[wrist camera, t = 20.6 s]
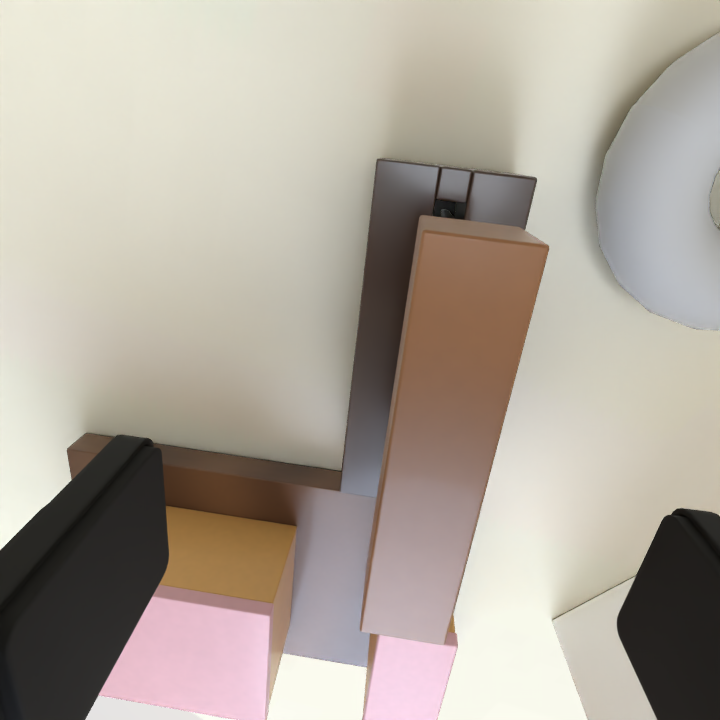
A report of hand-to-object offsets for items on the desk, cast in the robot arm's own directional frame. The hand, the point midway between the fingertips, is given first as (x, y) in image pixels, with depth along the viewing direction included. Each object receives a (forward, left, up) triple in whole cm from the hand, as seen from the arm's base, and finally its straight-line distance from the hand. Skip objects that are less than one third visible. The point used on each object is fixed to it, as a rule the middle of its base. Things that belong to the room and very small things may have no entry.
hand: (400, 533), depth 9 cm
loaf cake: (-9, -14, -11) cm, 20 cm away
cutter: (+1, 0, -13) cm, 13 cm away
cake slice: (+2, -14, -11) cm, 18 cm away
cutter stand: (+1, 0, -13) cm, 13 cm away
